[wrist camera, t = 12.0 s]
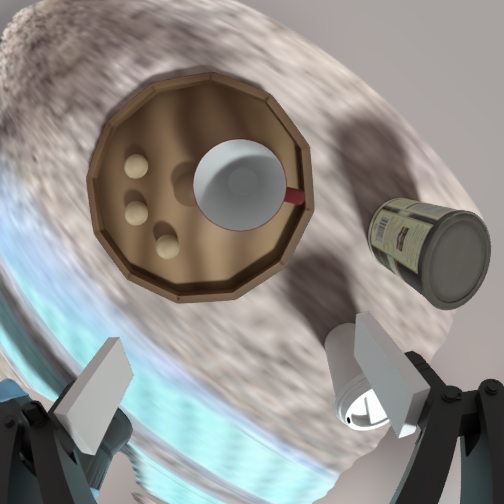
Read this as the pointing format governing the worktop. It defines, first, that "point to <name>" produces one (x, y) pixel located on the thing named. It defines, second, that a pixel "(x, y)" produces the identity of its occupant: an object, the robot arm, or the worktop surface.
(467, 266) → the coffee can
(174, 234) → the ring tray
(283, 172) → the mug
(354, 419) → the coffee cup
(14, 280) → the worktop surface
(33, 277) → the worktop surface
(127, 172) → the bead
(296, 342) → the worktop surface
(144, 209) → the bead
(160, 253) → the bead
